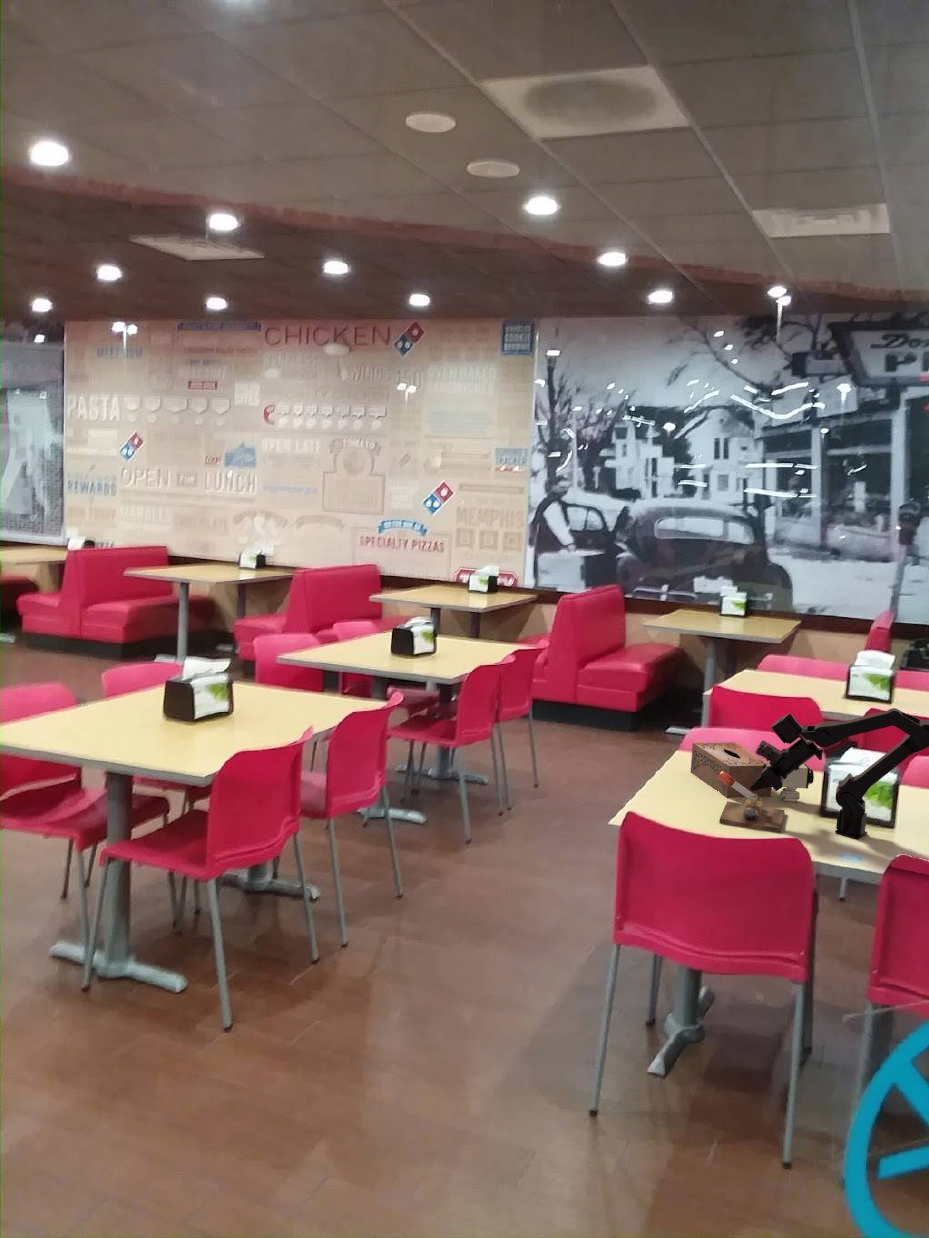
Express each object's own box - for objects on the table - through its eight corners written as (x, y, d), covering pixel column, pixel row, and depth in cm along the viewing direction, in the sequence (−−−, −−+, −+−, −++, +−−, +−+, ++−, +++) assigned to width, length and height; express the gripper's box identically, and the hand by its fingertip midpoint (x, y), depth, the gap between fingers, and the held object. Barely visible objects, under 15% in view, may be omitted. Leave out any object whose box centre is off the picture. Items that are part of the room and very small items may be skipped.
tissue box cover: (690, 773, 330) (692, 742, 329) (731, 772, 333) (734, 742, 332) (726, 798, 305) (729, 766, 304) (770, 797, 308) (773, 765, 307)
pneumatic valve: (811, 804, 302) (815, 764, 300) (771, 801, 303) (774, 762, 301) (806, 798, 308) (810, 759, 306) (766, 796, 308) (770, 757, 307)
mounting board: (784, 813, 292) (784, 809, 292) (779, 832, 277) (780, 828, 277) (726, 805, 298) (727, 801, 298) (719, 822, 282) (719, 818, 282)
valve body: (762, 810, 292) (764, 791, 291) (758, 823, 281) (760, 803, 280) (746, 808, 294) (748, 788, 293) (742, 821, 283) (743, 800, 282)
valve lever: (759, 795, 287) (723, 769, 290) (759, 798, 285) (722, 771, 288) (754, 802, 288) (717, 776, 291) (753, 805, 286) (716, 778, 288)
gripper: (777, 725, 291) (735, 758, 296) (772, 741, 274) (727, 775, 279) (804, 756, 289) (761, 788, 295) (801, 773, 272) (755, 807, 277)
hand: (750, 789), depth 286 cm, fingers closed
